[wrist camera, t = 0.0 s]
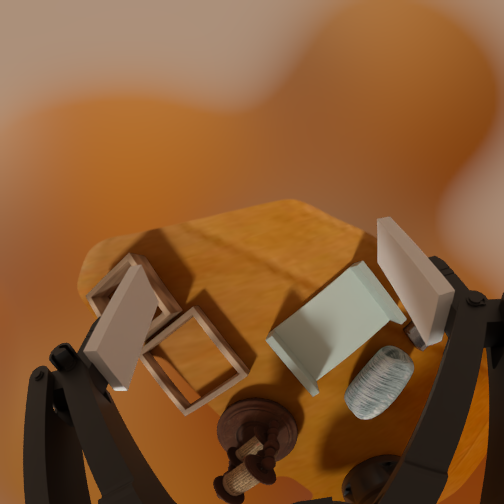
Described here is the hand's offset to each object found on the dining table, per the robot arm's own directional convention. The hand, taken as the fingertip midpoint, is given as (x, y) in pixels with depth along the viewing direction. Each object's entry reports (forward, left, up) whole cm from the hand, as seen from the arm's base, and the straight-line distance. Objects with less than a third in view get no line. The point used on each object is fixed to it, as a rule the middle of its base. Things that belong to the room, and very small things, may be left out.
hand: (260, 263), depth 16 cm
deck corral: (-2, +22, -36) cm, 42 cm away
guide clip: (-24, -13, -36) cm, 45 cm away
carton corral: (+13, +24, -36) cm, 45 cm away
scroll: (-20, +21, -36) cm, 47 cm away
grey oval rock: (-25, -2, -36) cm, 44 cm away
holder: (-12, -2, -36) cm, 38 cm away
